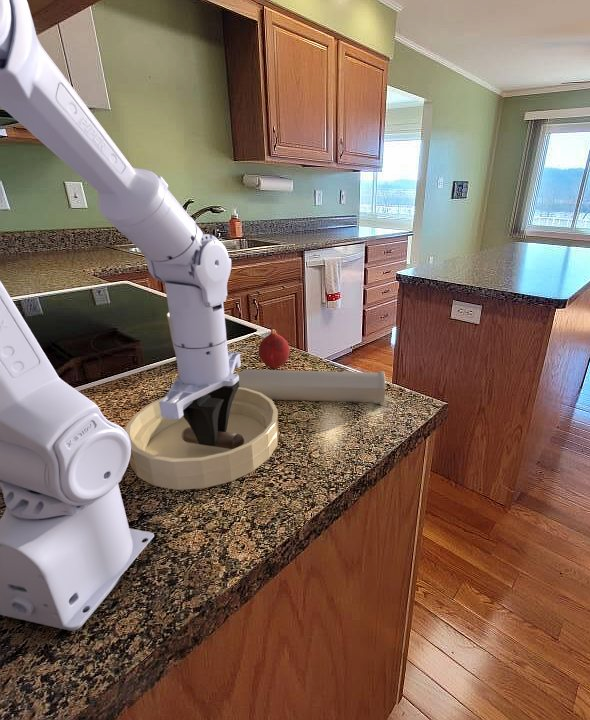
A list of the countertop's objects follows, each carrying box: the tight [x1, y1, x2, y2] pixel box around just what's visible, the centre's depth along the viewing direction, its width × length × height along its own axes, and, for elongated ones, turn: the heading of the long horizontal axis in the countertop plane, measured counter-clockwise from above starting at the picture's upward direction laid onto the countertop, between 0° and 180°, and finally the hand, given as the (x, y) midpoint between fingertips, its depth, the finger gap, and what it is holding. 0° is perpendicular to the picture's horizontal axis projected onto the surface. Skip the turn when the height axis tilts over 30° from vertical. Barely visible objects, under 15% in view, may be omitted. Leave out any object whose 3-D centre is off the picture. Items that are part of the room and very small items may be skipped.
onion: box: [258, 328, 291, 370], centre depth 76 cm, size 6×6×8 cm
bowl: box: [124, 387, 280, 491], centre depth 52 cm, size 18×18×4 cm
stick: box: [182, 427, 244, 449], centre depth 51 cm, size 8×2×2 cm, turn 81°
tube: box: [237, 368, 386, 406], centre depth 66 cm, size 5×5×25 cm
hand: (212, 438), depth 51 cm, fingers closed on stick, 2 cm apart
